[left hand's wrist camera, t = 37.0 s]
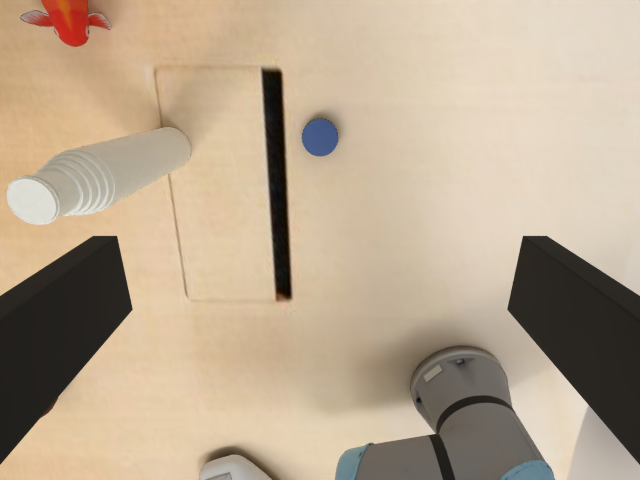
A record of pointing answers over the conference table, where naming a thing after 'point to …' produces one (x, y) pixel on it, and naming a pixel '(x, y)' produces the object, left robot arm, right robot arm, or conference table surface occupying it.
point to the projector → (232, 469)
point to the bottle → (97, 175)
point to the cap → (320, 137)
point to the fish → (67, 20)
